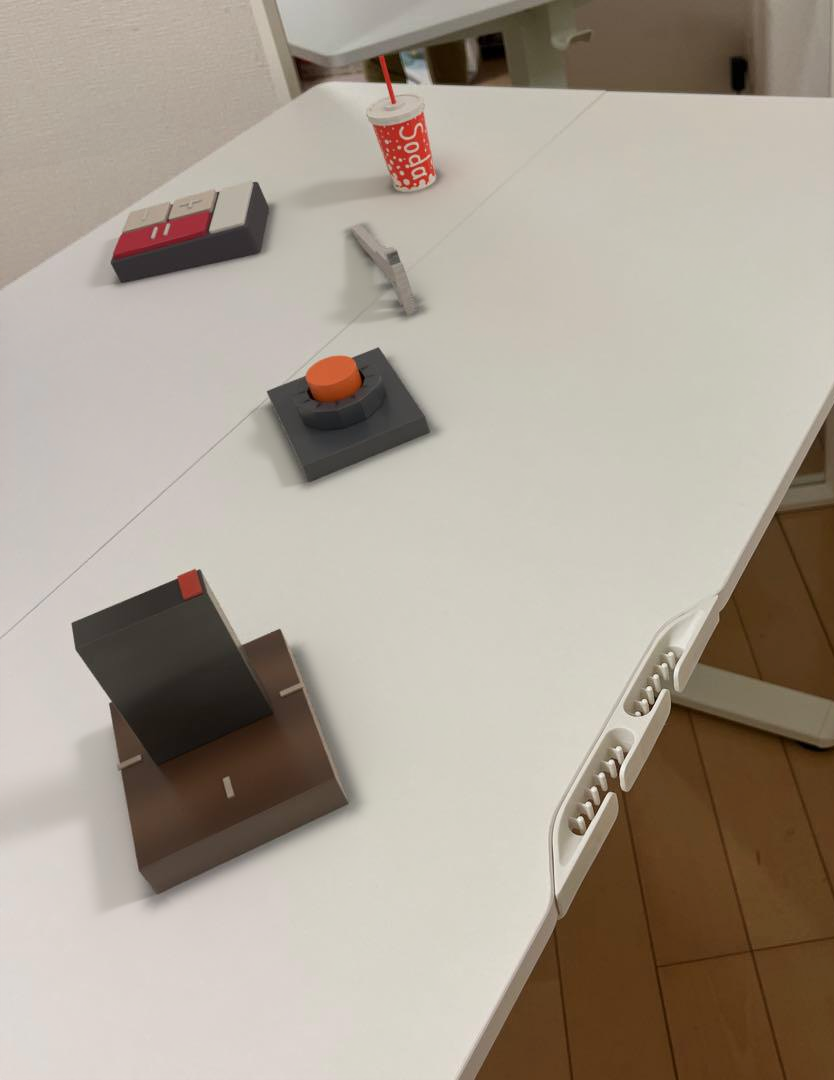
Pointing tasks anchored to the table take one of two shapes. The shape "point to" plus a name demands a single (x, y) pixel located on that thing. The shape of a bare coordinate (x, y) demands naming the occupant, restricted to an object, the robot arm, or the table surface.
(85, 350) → the table surface
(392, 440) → the button block
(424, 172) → the beverage cup
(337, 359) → the button
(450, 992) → the table surface
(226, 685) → the red-tabbed grey box
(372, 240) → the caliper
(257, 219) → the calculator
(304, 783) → the panel
